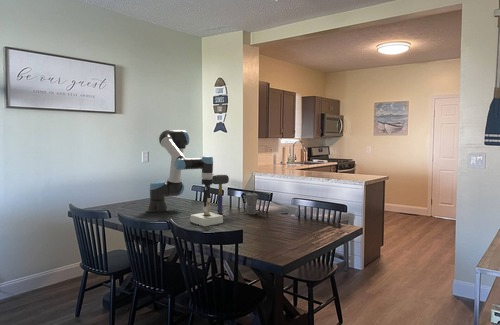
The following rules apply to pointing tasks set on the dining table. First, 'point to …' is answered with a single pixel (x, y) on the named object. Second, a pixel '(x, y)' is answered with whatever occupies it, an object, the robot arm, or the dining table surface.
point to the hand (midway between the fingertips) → (206, 209)
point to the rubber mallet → (220, 188)
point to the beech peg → (207, 213)
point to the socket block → (206, 219)
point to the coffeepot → (250, 202)
